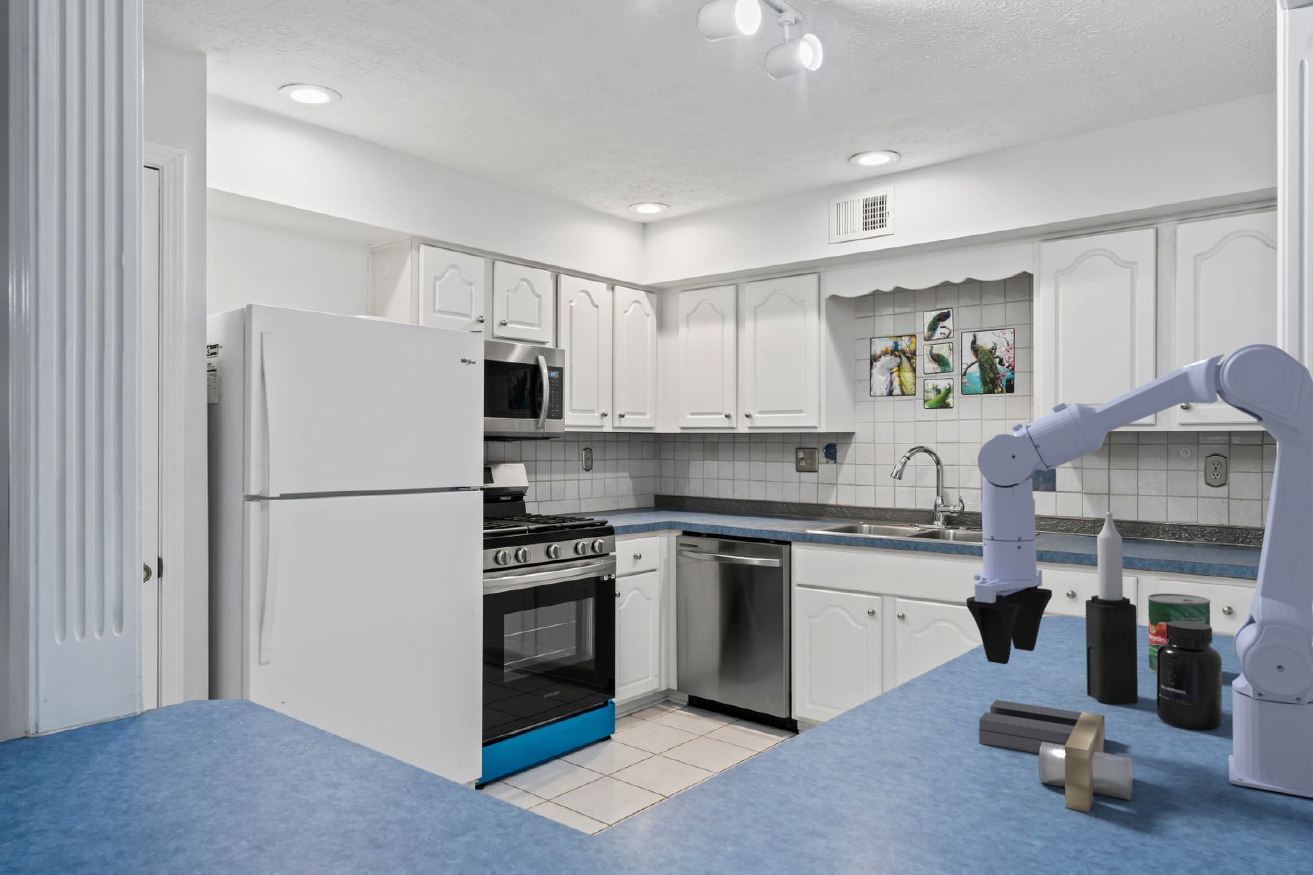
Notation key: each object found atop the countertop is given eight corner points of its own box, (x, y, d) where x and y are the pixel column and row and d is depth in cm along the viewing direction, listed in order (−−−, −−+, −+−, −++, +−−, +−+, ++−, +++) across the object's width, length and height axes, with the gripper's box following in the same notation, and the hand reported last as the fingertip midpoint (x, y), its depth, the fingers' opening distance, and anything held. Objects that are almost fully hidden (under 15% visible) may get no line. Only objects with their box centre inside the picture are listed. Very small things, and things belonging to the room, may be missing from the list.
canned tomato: (1136, 669, 130) (1135, 596, 130) (1171, 662, 133) (1170, 591, 133) (1188, 682, 122) (1187, 605, 122) (1223, 675, 126) (1222, 599, 126)
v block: (1105, 738, 100) (1104, 715, 100) (1095, 763, 93) (1094, 738, 93) (996, 721, 107) (996, 699, 107) (979, 743, 100) (978, 719, 100)
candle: (1141, 703, 113) (1138, 513, 113) (1102, 704, 113) (1099, 513, 113) (1121, 692, 118) (1118, 509, 118) (1083, 692, 118) (1080, 510, 118)
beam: (1103, 769, 91) (1103, 714, 91) (1088, 811, 81) (1087, 750, 81) (1082, 766, 92) (1082, 711, 92) (1065, 807, 82) (1064, 746, 82)
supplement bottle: (1158, 726, 104) (1156, 627, 104) (1155, 710, 110) (1154, 616, 110) (1226, 735, 101) (1224, 632, 101) (1219, 718, 107) (1218, 621, 107)
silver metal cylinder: (1132, 788, 86) (1131, 750, 86) (1129, 807, 83) (1128, 767, 82) (1046, 772, 91) (1044, 735, 90) (1039, 789, 87) (1037, 751, 87)
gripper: (1000, 530, 108) (1002, 639, 108) (947, 542, 98) (950, 662, 98) (1058, 534, 103) (1061, 648, 103) (1010, 546, 93) (1012, 673, 93)
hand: (1011, 655), depth 100 cm, fingers open, 7 cm apart
